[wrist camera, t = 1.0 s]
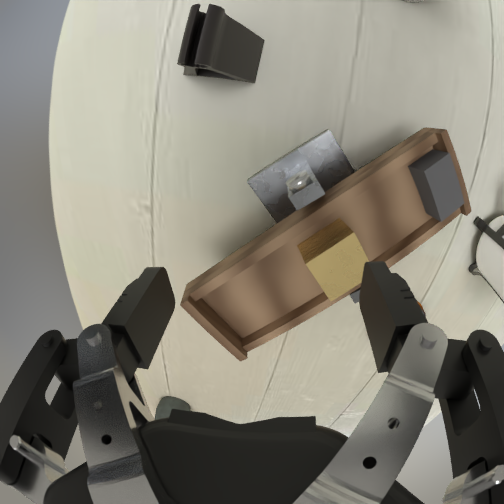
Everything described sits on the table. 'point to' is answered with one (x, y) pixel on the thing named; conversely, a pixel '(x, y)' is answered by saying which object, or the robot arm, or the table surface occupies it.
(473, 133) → the table surface
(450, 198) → the block
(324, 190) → the pivot stand
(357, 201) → the beam
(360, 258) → the brass block
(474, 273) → the coffee press
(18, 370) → the robot arm
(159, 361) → the table surface
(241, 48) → the phone stand
